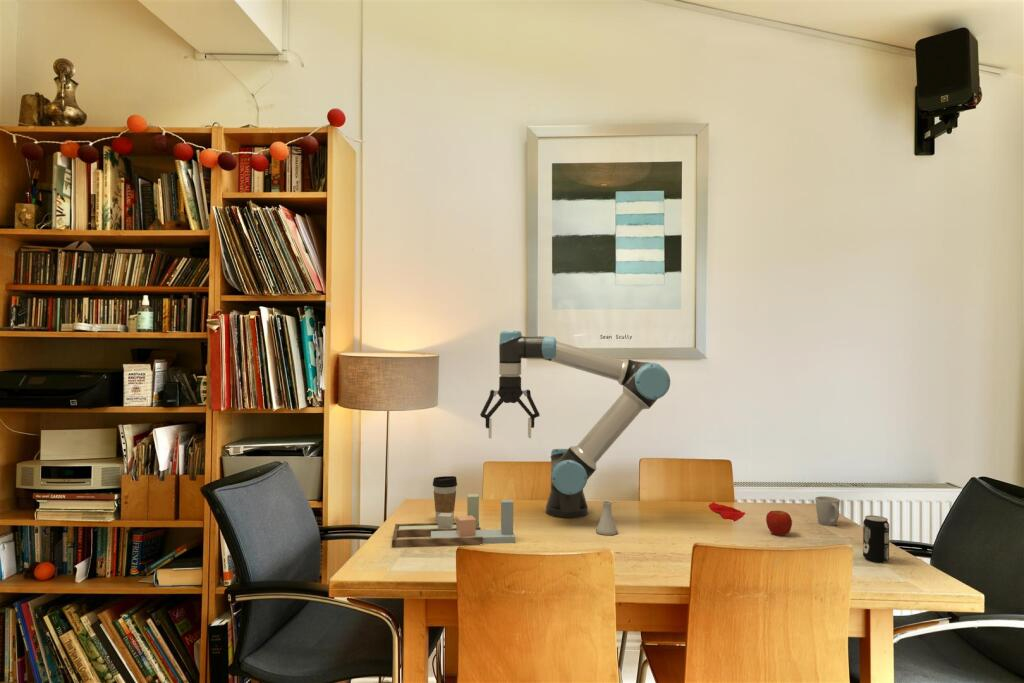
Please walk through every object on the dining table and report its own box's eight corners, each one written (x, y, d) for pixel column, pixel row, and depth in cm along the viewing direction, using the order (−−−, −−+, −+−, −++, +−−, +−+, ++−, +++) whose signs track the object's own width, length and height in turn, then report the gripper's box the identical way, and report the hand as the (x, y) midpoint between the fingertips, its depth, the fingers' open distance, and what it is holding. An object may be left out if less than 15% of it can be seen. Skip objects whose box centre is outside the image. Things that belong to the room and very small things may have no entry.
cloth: (751, 524, 233) (751, 518, 233) (710, 522, 235) (710, 516, 235) (740, 506, 258) (740, 500, 258) (703, 504, 261) (703, 498, 261)
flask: (620, 530, 222) (620, 500, 222) (615, 536, 215) (616, 505, 215) (598, 528, 225) (598, 498, 225) (593, 534, 218) (593, 503, 218)
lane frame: (478, 529, 223) (478, 521, 223) (482, 545, 206) (482, 537, 206) (395, 531, 220) (395, 523, 220) (392, 548, 202) (392, 540, 202)
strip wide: (511, 534, 216) (511, 497, 216) (514, 542, 208) (515, 504, 208) (430, 536, 214) (431, 499, 213) (430, 545, 205) (430, 505, 205)
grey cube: (453, 525, 220) (453, 513, 220) (450, 529, 216) (450, 516, 216) (441, 525, 220) (441, 512, 220) (437, 528, 216) (437, 516, 216)
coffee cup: (453, 524, 228) (453, 480, 228) (429, 523, 230) (429, 479, 230) (459, 518, 236) (460, 475, 236) (436, 517, 238) (437, 474, 238)
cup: (831, 520, 236) (831, 496, 236) (848, 528, 226) (848, 503, 226) (810, 520, 236) (810, 496, 236) (826, 529, 226) (827, 503, 226)
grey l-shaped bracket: (478, 529, 222) (478, 493, 222) (479, 534, 217) (479, 497, 217) (399, 531, 219) (399, 495, 219) (398, 536, 214) (398, 498, 214)
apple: (780, 539, 214) (780, 514, 214) (760, 532, 221) (760, 508, 221) (797, 535, 218) (797, 511, 218) (777, 529, 225) (777, 506, 225)
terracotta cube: (471, 531, 214) (472, 515, 214) (475, 535, 209) (475, 519, 209) (456, 532, 212) (456, 516, 212) (459, 536, 207) (459, 520, 207)
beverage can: (858, 556, 197) (858, 515, 197) (879, 555, 198) (880, 514, 198) (872, 563, 191) (872, 521, 191) (894, 563, 191) (894, 520, 191)
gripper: (544, 375, 237) (544, 435, 238) (473, 375, 235) (472, 436, 235) (548, 376, 230) (547, 438, 230) (474, 376, 227) (474, 439, 227)
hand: (509, 437), depth 232 cm, fingers open, 13 cm apart
